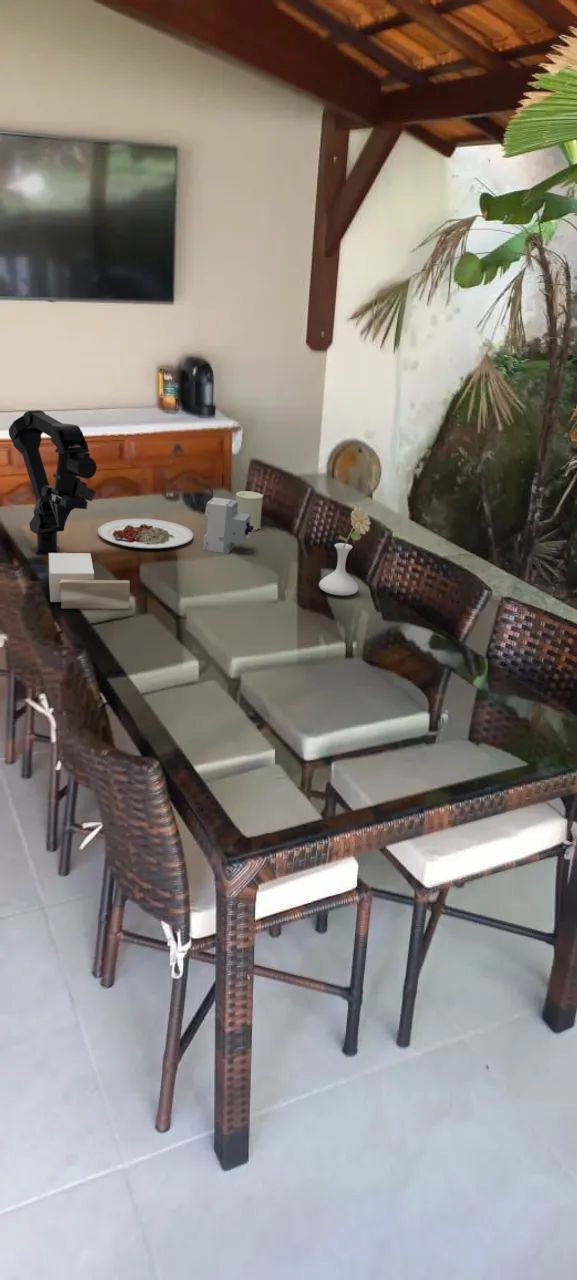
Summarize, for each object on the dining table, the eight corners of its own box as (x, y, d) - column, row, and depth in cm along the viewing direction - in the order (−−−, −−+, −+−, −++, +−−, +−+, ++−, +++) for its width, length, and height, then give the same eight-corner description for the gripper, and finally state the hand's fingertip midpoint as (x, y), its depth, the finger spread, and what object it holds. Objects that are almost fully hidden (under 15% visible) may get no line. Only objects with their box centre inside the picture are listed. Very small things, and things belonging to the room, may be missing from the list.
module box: (49, 580, 251) (48, 553, 248) (90, 580, 254) (90, 553, 251) (50, 602, 237) (49, 573, 234) (93, 602, 240) (94, 573, 237)
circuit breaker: (247, 556, 285) (251, 509, 279) (203, 549, 287) (205, 502, 281) (253, 549, 292) (256, 503, 286) (209, 542, 294) (212, 497, 288)
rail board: (61, 604, 236) (61, 578, 233) (128, 604, 240) (129, 579, 237) (61, 608, 234) (61, 582, 231) (129, 608, 238) (129, 583, 235)
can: (231, 523, 316) (233, 489, 311) (257, 523, 319) (260, 490, 314) (236, 531, 308) (238, 496, 303) (263, 532, 310) (265, 497, 306)
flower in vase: (330, 600, 256) (340, 513, 246) (311, 586, 265) (320, 502, 255) (370, 596, 262) (381, 511, 252) (349, 583, 271) (360, 500, 261)
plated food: (211, 539, 299) (212, 529, 298) (151, 559, 275) (151, 548, 274) (140, 518, 313) (141, 508, 311) (77, 536, 289) (77, 525, 288)
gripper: (108, 480, 251) (101, 536, 255) (80, 469, 265) (74, 522, 269) (69, 476, 244) (63, 534, 248) (43, 465, 259) (37, 519, 263)
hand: (60, 527), depth 257 cm, fingers closed
